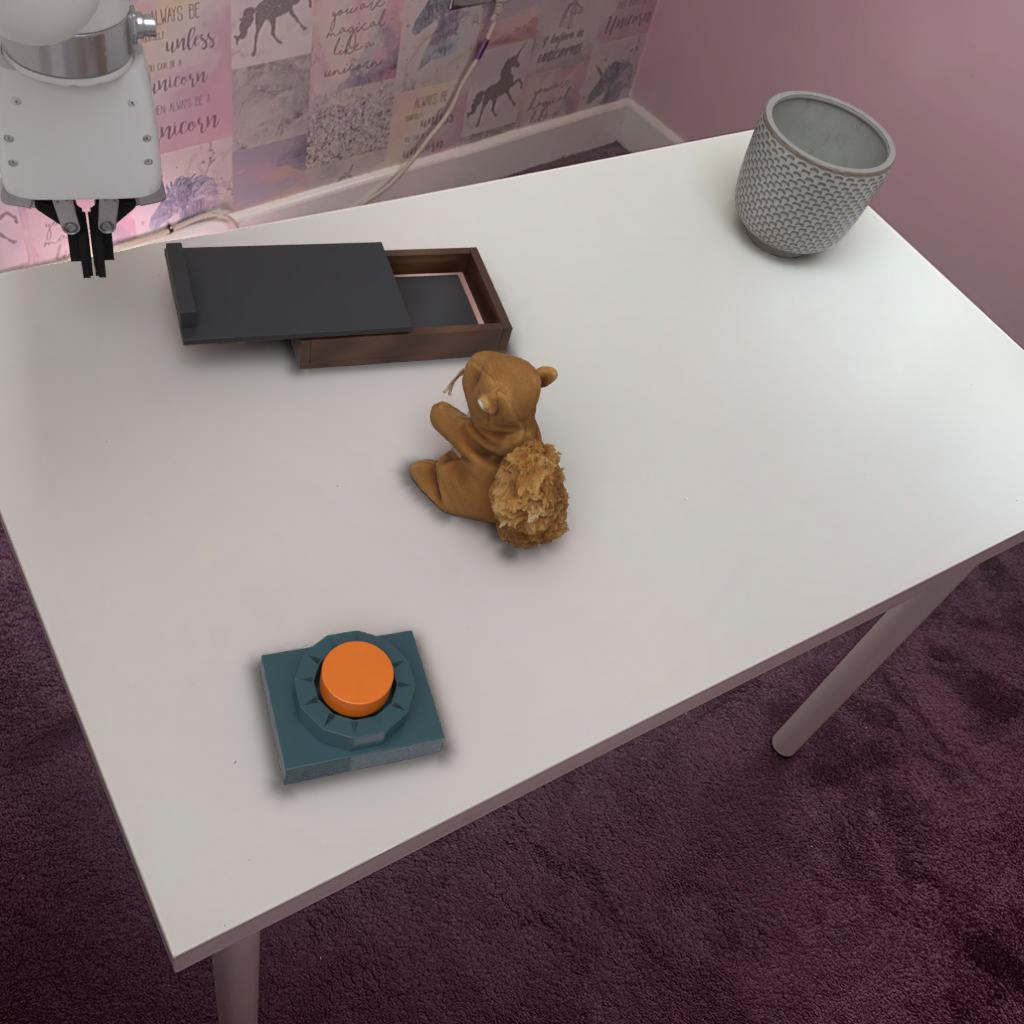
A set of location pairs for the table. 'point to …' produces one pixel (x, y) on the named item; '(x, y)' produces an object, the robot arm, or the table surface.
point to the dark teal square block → (342, 739)
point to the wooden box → (425, 314)
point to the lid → (284, 292)
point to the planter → (810, 172)
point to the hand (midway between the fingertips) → (93, 265)
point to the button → (356, 679)
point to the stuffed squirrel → (498, 453)
